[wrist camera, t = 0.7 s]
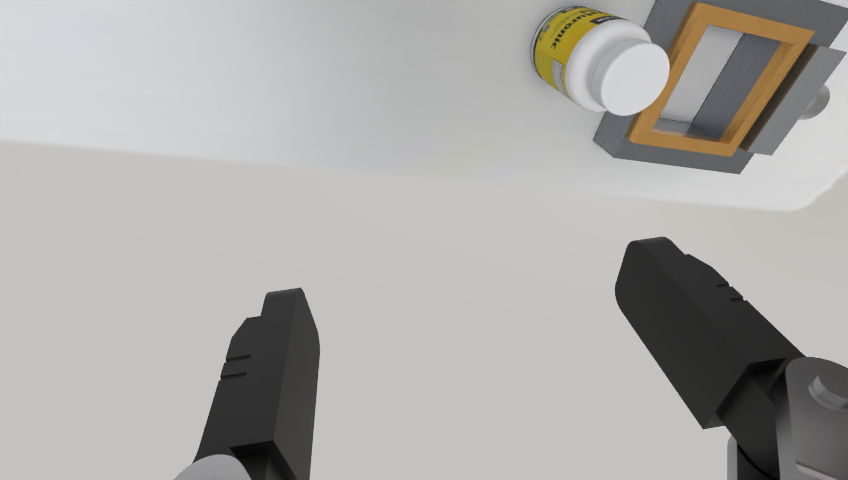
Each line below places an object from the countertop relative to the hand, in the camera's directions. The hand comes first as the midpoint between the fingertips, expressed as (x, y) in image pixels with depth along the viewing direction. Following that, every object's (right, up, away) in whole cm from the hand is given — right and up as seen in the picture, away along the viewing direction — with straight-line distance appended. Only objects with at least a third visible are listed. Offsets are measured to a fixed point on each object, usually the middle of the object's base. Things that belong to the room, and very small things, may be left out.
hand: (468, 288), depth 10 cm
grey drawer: (+23, +15, +24) cm, 37 cm away
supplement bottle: (+9, +16, +21) cm, 28 cm away
